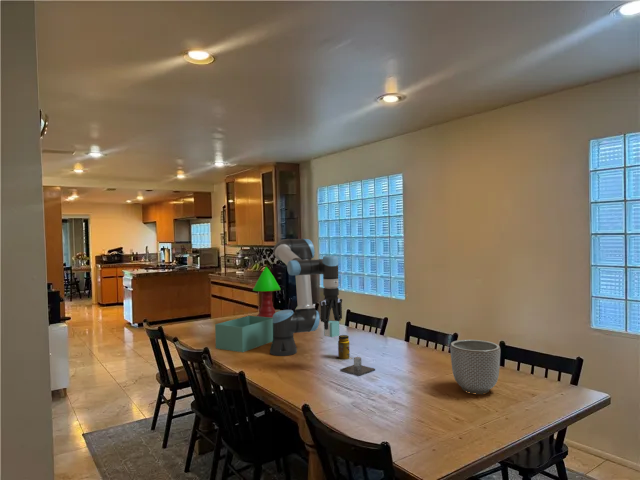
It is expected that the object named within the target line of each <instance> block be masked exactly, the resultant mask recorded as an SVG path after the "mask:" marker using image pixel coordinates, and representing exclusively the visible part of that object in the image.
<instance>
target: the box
mask: <svg viewBox="0 0 640 480" xmlns="http://www.w3.org/2000/svg"><path fill="white" fill-rule="evenodd" d="M272 321H273V318H269V317H259V316H257V315H256V316H255V315H247V316H243V317H242V316H241V317H239V318H235V319H230V320H227V321H224V322H220V323H219V322H218V323H215V324H214V326H215V327H214V329H215V331H214V332H215V333H214V335H215V338H214V339H215V349H217V350H223V351H224V350H225V351H232V352H238V353H245V352H247V351H251V350H253V349H256V348H260V347H261V346H264V345H267V344H269V343H272V341H273V323H272Z"/></svg>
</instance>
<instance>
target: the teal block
mask: <svg viewBox="0 0 640 480" xmlns="http://www.w3.org/2000/svg"><path fill="white" fill-rule="evenodd" d="M328 323H330V336H327V337H328V338H334V337H339V336H340V321H334V320H329V322H328ZM323 330H324V331H323V332H324V335H323V336H325V329H324V328H323ZM325 337H326V336H325Z"/></svg>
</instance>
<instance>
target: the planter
mask: <svg viewBox="0 0 640 480" xmlns="http://www.w3.org/2000/svg"><path fill="white" fill-rule="evenodd" d="M449 350H450V358H451V359H450V361H451V362H450V363H451V369H452V370H451V371H452V375H453V377H454V380H455V382H456V383H457V384H458V386H459V387H461V389H462V391H463V392H465V391H467V392H470V393H476V394H475V395H477V394H481V395H484V394H483V393H487V392H488V393H489V392H490V390H491V389H493V387H495V386H496V384H497V383H498V379H499V376H500V375H499V374H500V366H501V347H500V345H499V344H497V343H495V342H492V341H487V340H479V339H460V340H458V339H457V340H454V341H452V342H450V348H449ZM467 392H466V393H467ZM470 393H469V394H470ZM488 393H487V394H488Z"/></svg>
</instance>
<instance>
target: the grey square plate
mask: <svg viewBox="0 0 640 480" xmlns="http://www.w3.org/2000/svg"><path fill="white" fill-rule="evenodd" d="M339 371H340V372H343V373H347V374H349V375H354V376H358V377H361V376H363V375H366V374H367V375H368V374H369V373H372V372H374V371H376V368H374V367H370V366H365V365H362V357H360V356H355V357H353V364H352V365H349V366H345V367H343V368H340V369H339Z"/></svg>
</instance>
